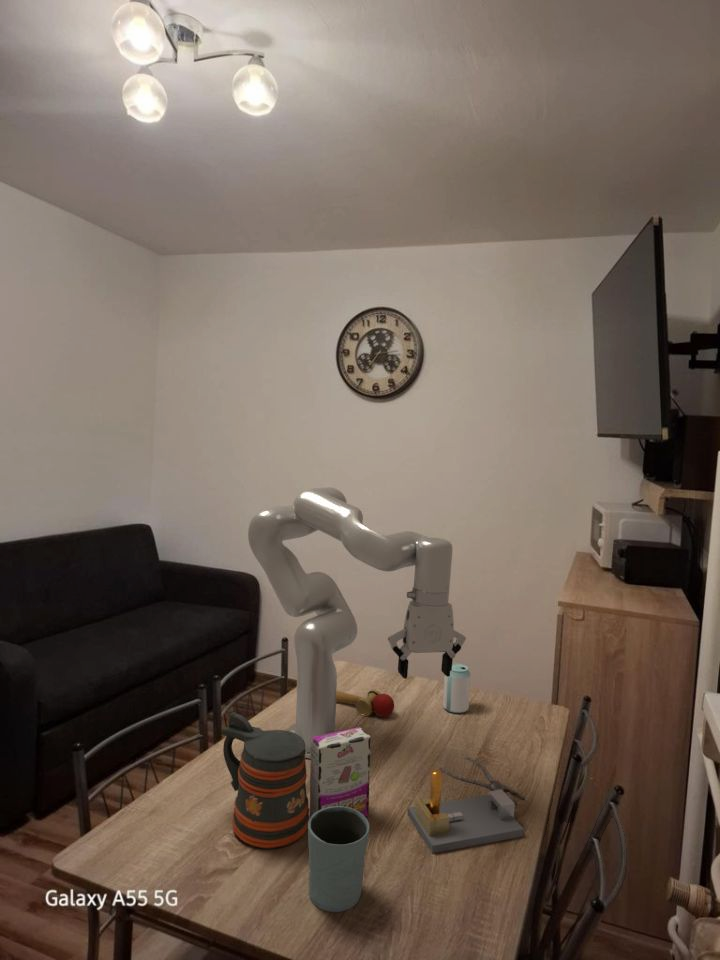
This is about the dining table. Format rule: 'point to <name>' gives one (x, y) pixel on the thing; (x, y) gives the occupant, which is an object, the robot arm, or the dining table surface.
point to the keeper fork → (431, 818)
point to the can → (457, 689)
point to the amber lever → (439, 796)
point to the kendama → (369, 703)
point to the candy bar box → (340, 770)
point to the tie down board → (469, 825)
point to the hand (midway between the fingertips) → (424, 674)
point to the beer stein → (267, 784)
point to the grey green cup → (336, 857)
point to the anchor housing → (501, 804)
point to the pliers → (492, 787)
